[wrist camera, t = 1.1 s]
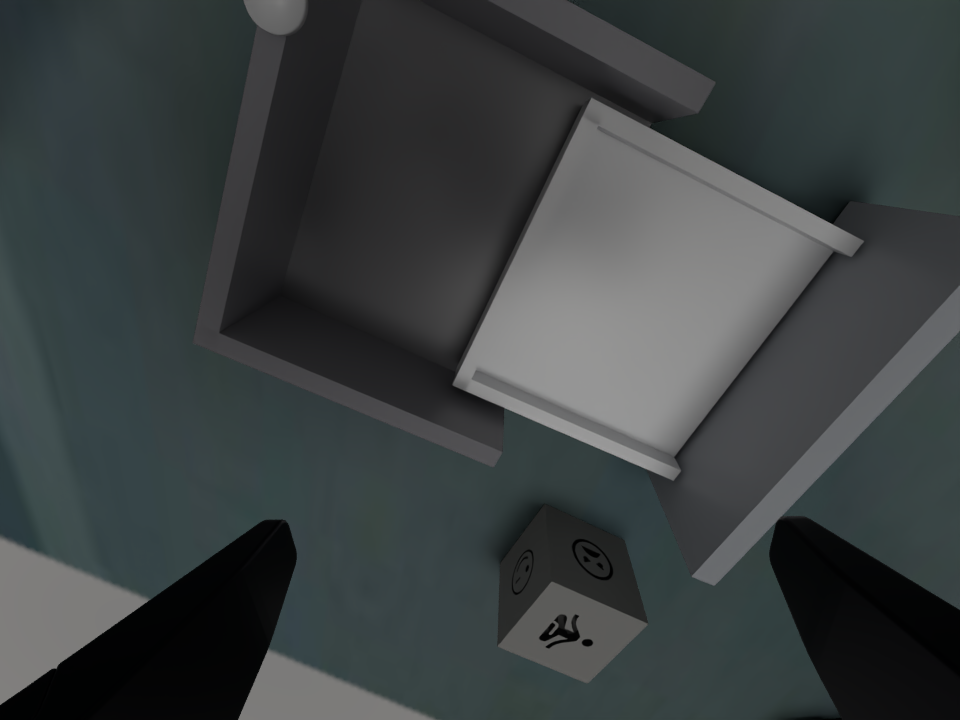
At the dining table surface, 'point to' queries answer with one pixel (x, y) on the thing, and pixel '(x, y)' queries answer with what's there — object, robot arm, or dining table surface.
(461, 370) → the tray
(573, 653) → the dice cube
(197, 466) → the dining table surface
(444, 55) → the housing
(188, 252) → the dining table surface
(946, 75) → the dining table surface
